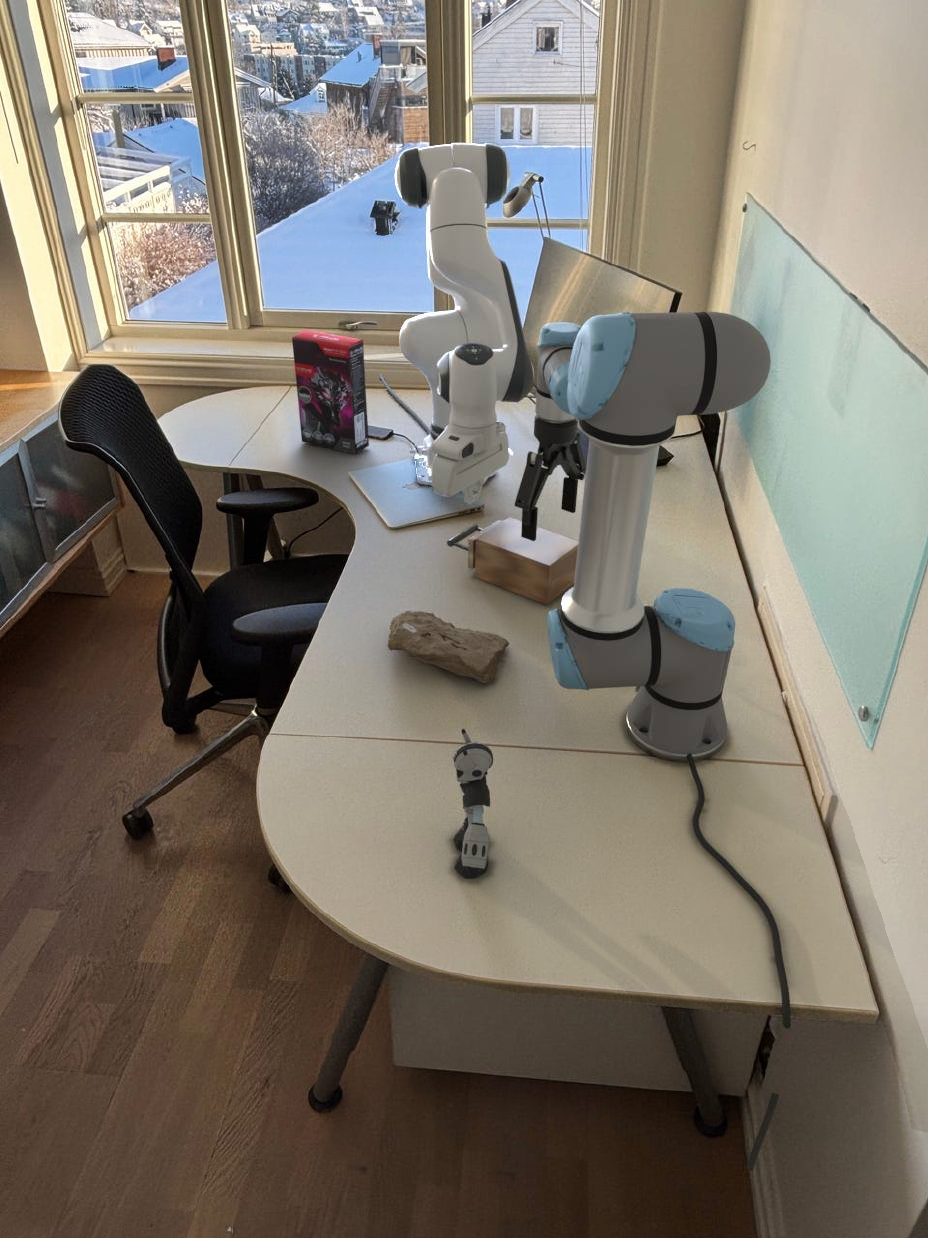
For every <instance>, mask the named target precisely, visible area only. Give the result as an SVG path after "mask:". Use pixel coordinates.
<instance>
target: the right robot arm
mask: <svg viewBox="0 0 928 1238" xmlns="http://www.w3.org/2000/svg"><path fill="white" fill-rule="evenodd" d="M537 348H538V349H537V369H536V370H537V371H536V372H537V374H536V392H535V408H534V412H535V415H534V422H533V436H534V438H535V439H536V440H537V442H538V448H537V451H535V452H534V451H530V450H529V451H528V452H527V454H526V455H527V456H526V462H525V463H526V464H525V467H524V470H523V474H522V477H521V482H520V485H519V488H518V491H517V494H516V497H515V501H514V507H516V508H518V509H521V521H522V532H521V537H523V538H526V539H529V540H531V541H535V540H536V531H537V527H538V515H539V514H538V511H539V507H538V506H537V503H538V501H539V499H540V497H541V494H542V492H543V490H544V488H545V485H546V483H547V480H548V478H549V476H551V475H553V473H554V470H555V469H556V468H557V467H558V466H560V467H561V468H562V470H563V472H564V473H565V475H566V476H565V477H563V482H562V492H561V493H562V495H561V508H560V510H562V511H565V512H568V513H572V514H575V513H576V509H577V500H578V499H577V498H578V487H579V481H583V480H584V486H583V496H582V504H581V513H580V514H581V515H580V524H579V533H578V541H579V542H578V551H577V561H576V570H575V580H574V584H573V586H571V587H569V588H568V589H567V590H566V591H565V592H564V593H563V595H562V598H561V602H560V609H559V608H554V609H551V610H549V611H548V612H547V614H546V627H547V638H548V645H549V651H550V656H551V664H552V668H553V672H554V676H555V678H556V682H557V683H558V684H559V686H561V687H562V688H564V689H567V690H584V691H590V690H594V689H595V690H597V689H612V688H613V689H614V688H615V689H616V688H630V687H631V688H633V687H635V691H634V692H635V693H636V694H635V695H634V697H633V699H632V701H631V702H630V704H629V706H628V708H627V711H626V719H625V728H626V732H627V734H628V736H629V738H630V739H631V741H632V742H634V744H636V745H637V746H638V747H639V748H640V749H641V750H643V751H645V752H646V753H648V754H650V755H651V756H654V757H656V758H659V759H662V760H666V761H670V762H675V763H688V766H689V769H690V772H691V775H692V778H693V781H694V783H695V785H696V789H697V795H698V797H697V802H696V806H695V810H694V812H693V816H692V829H693V833H694V835H695V837H696V838H697V841H698V842H699V844H700V845H701V846H702V848H704V849H705V850H706V852H707V853H708V854H709V855H711V856H712V858H714V859H715V860H716V861H717V862H718V863H719V864H720V865H721V867H723V868H724V869H725V870H726V872H728V874H729V875H730V876H731V877H732V878H733V879H734V880H735V881H736V882H737V883H738V885H740V886H741V887H742V888H743V890H745V892H747V894H749V896H750V897H752V899H753V900H754V902H756V903H757V905H758V907H759V908H760V909H761V911H762V913H763V914H764V916H765V918H766V921H767V923H768V925H769V928H770V932H771V938H772V944H773V952H774V959H775V964H776V969H777V975H778V981H779V986H780V994H781V1009H782V1010H781V1011H782V1012H781V1013H782V1016H781V1017H782V1026H783V1027H784V1029H786V1030H787V1029H788V1030H790V1029H791V1025H792V1024H791V1021H792V1018H791V1014H792V1013H791V999H790V990H789V989H790V988H789V983H788V978H787V977H788V976H787V973H786V968H785V963H784V957H783V950H782V943H781V937H780V932H779V927H778V925H777V922H776V919H775V917H774V914H773V913H772V911H771V909H770V907H769V906H768V904H767V902H765V900H764V899H763V897H762V896H761V894H759V893H758V892H757V890H756V889H755V888H754V887H752V885H751V884H750V883H749V882H748V881H747V880H746V879H745V878H743V876H742V875H741V874H740V873H739V872H738V871H737V870H736V869H735V867H734V866H733V865H732V864H730V862H729V861H728V860H727V859H726V858H724V857H723V855H722V854H720V853H719V852H718V851H717V850H716V849H715V848H714V847H713V846H712V845H711V844H710V843H709V842H708V840H707V839H706V838H705V836H704V835H703V833H702V831H701V828H700V817H701V814H702V811H703V809H704V805H705V801H706V800H705V799H706V797H705V789H704V785H703V782H702V780H701V778H700V775H699V772H698V769H697V766H696V763H695V762H700V761H703V760H706V759H709V758H711V757H714V755H716V754H718V752H720V751H721V750H722V748H723V747H724V744H725V743H726V740H727V739H726V738H727V733H728V721H727V716H726V712H725V708H724V707H725V706H724V701H723V692H724V686H725V682H726V678H727V674H728V669H729V664H730V659H731V654H732V651H733V649H734V646H735V640H734V639H735V632H736V620H735V619H736V618H735V617H734V614H733V612H732V611H731V609H730V608H729V607H728V606H727V605H726V604H725V603H723V602H722V601H721V600H719V599H718V598H716V597H715V596H712V595H711V594H709V593H706V592H704V591H701V590H696V589H692V588H686V587H673V588H668V589H665V590H663V591H662V592H660V593H658V595H657V596H656V597H655V599H654V601H653V605H645V604H644V602H643V601H642V598H640V597H639V595H637V591H638V584H639V579H640V572H641V565H642V559H643V552H644V546H645V540H646V533H647V528H648V521H649V514H650V513H649V512H650V508H651V502H652V496H653V490H654V484H655V476H656V469H657V464H658V458H659V450H660V446H662V445H663V444H665V443H666V442H668V441H670V440H671V439H672V438H673V437H674V435H675V431H676V425H677V420H678V417H683V416H699V415H712V414H713V415H714V414H719V413H724V412H727V411H730V410H734V409H736V408H738V407H740V406H742V405H745V404H746V403H748V402H749V401H751V400H752V399H753V398H755V396H757V394H758V393H759V392H760V391H761V390H762V389H763V387H764V386H765V384H766V382H767V380H768V377H769V374H770V370H771V364H772V363H771V362H772V361H771V359H772V358H771V352H770V348H769V346H768V343H767V341H766V339H765V337H764V336H763V334H762V333H761V332H760V330H758V329H757V328H756V327H755V326H754V325H752V324H751V323H750V322H748V321H747V320H745V319H743V318H741V317H739V316H737V315H733V314H729V313H726V312H719V311H700V312H692V311H690V312H689V311H686V312H685V311H684V312H683V311H682V312H678V311H677V312H630V311H621V312H617V313H609V314H608V313H607V314H597V315H594V316H592V317H590V318H588V319H587V320H586V321H585V322H584V323H583V325H580V324H578V323H574V322H569V321H554V322H548V323H547V324H544V325H543V326H542V327H541V328H540V331H539V338H538V344H537ZM578 428H579V429H580V431H581V432H582V433H583V435H585V436H586V438H588V447H587V458H586V461H585V456H584V452H583V448H582V443H581V432H580V431H578ZM584 473H585V474H584ZM779 1098H780V1094H778V1093H775V1092H771V1094H770V1097H769V1101H768V1104H767V1107H766V1110H765V1113H764V1116H763V1119H762V1121H761V1124H760V1127H759V1129H758V1131H757V1134H756V1137H755V1140H754V1143H753V1146H752V1148H751V1150H750V1153H749V1157H748V1160H747V1163H746V1170H747V1171H748V1172H753V1171H754V1168H755V1165H756V1162H757V1160H758V1156H759V1154H760V1150H761V1149H762V1145H763V1143H764V1140H765V1138H766V1136H767V1133H768V1130H769V1127H770V1125H771V1122H772V1119H773V1117H774V1114H775V1112H776V1108H777V1106H778V1105H777V1104H778V1101H779Z"/></svg>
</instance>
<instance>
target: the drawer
mask: <svg viewBox="0 0 928 1238" xmlns="http://www.w3.org/2000/svg"><path fill="white" fill-rule="evenodd" d="M502 521H503V520H501V519H497V520H496V521H493V522H492V523H491V524H489V525H488V526H486V527H485V528H482V527H480V526H479V524H477V523H473V524H472V525H470V526H469V527H467V528H465V529H464V530H463V531H461V532H459V533H457V534H456V535H454V536H453V537H451V538H450V539H447V541H446V545H447V546H448V547H449V548H453V547H456V548H459V549H461V550H463V551H466V552H467V568H468V569H471V570H475V556H476V538H478V537H479V536H481V535H482V534H484V533H485V532H487V531H488V530H490V529H492V528H493V527H495V526H496V525H498V524H499V523H501V522H502ZM474 533H475V534H474ZM469 536H470V537H469ZM468 537H469V538H468ZM467 538H468V540H467V541H468V543H467V545H464V544H462V543H460V542H462V541H463V540H465V539H467Z"/></svg>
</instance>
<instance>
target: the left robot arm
mask: <svg viewBox="0 0 928 1238" xmlns="http://www.w3.org/2000/svg"><path fill="white" fill-rule="evenodd" d="M510 180H511V167H510V162H509V158H508V157H507V153H506V151H505V149H503V147H502V146H501V145H499V144H495V143H489V142H485V143H484V144H480V143H479V144H478V143H467V142H451V144H440V145H439V144H438V145H432V146H426V147H425V146H424V147H422V148H419V147H418V146H417V147H412V148H408V149H406V150H403V151H402V152H401V154H399V156H398V161H397V163H396V167H395V172H394V181H395V187H396V189H397V192H398V194H399V196H400V198H401V201H402V202H403V203H404V204H405V205H406V206H408V207H412V208H414V209H415V208H416V209H420V210H422V209H423V208H425V207H426V208H427V210H426V226H425V227H426V231H425V233H426V234H425V235H426V253H427V273H428V278H429V281H430V283H431V285H432V286H433V287H435V288H436V289H437V290H440V291H441V292H443V293H445V294H447V295H450V296H451V297H452V299H453V302H454V309H451V310H444V311H443V310H442V311H434V312H425V313H423V314H419V315H416V316H414V317H411V318H408V319H406V320H405V321H404V322H403V325H402V326H401V329H400V331H399V338H398V343H399V349H400V351H401V353H402V355H403V357H404V358H405V360H406V361H407V362H408V363H410V364H411V365H412V366H414V367H415V368H416V369H418V370H419V371H420V372H421V373H422V374H423V376H424V377H425V379H426V381H427V383H428V386H429V389H430V395H431V406H432V418H431V421H430V425H429V427H428V425H426V423H425V422H424V421H423V420H422V419H421V418H420V417H419V416H418V414H416V412H415V411H413V409H411V407H409V406H408V405H407V403H405V402H404V401H403V400H402V399H401V397H399V396H398V395H397V394H396V393H395V392H394V391H393V389H391V387H390V386H389V384H388V383H387V381H386V380H385V378H384V375H383V374H381V373H380V374H379V375H378V377H379V379H380V380H381V382H382V384H383V386H384V388H385V389H386V390H387V392H389V394H390V395H391V396H392V397H393V398H394V399H395V400H396V401H397V402H398V403H399V404H400V405H401V406H402V407H403V408H404V409H405V410H406V411H407V412H408V413H409V414H410V415H411V416H412V417H413V418H414V419H415V420H416V422H417V423H419V424H420V426H421V427H422V428H423V429H424V430H425V432H426V433H427V436H425V437H424V438H423V445H419V446H417V453H416V454H415V455H414V465H415V466H414V467H415V472H416V480H417V483H418V484H420V485H426V486H430V487H431V486H432V490H433V492H434V493H435V494H436V495H439V496H441V497H444V498H447V499H450V498H452V497H453V496H455V495H457V494H459V493H460V492H462V494H463V502H464V503H465V504H468V505H471V504H473V503H475V502H477V500H479V499H480V498H481V491H482V488H483V486H484V484H485V483H486V482H487V481H488V479H489V478H491V477H493V476H494V475H496V472H497V471H499V470H500V469H502V468H504V467H505V466H506V465H507V464H508V462H509V460H510V455H511V456H513V455H514V452H513V451H512V450H511V449H510V447H509V445H510V444H509V437H508V434H507V432H506V431H507V430H506V429H507V428H506V427H507V426H506V424H505V423H504V422H503V421H502V420H498V417H497V413H496V404H497V402H501V403H519V402H521V401H522V400H523V399H525V398H526V397H527V396H528V395H529V394H530V392H532V390H533V389H534V385H535V371H534V365H533V362H532V360H531V356H530V355H531V354H530V353H529V349H528V346H527V341H526V338H525V333H524V328H523V322H522V320H521V315H520V310H519V304H518V300H517V295H516V292H515V287H514V282H513V280H512V275H511V272H510V270H509V267H508V265H507V263H506V262H505V261H504V260H502V259H501V258H499V257H498V255H496V253H495V251H494V250H493V247H492V245H491V242H490V238H489V229H488V227H489V226H488V216H487V210H488V209H489V208H490V206H491V205H494V204H495V203H497V202H500V201H501V199H503V197H505V196H506V194H507V190H508V187H509V184H510ZM419 458H424V461H423V462H422V466H423V467H426V469H427V473H428V480H429V481H430V480H431V481H432V482H426V481H420V480H419V479H418V475H417V468H416V461H415V459H419ZM419 463H421V462H419ZM419 477H426V476H425V475H420V476H419Z"/></svg>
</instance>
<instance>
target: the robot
mask: <svg viewBox="0 0 928 1238" xmlns="http://www.w3.org/2000/svg"><path fill="white" fill-rule="evenodd" d="M461 734H462V737H463V739H464V742H465V744H463V745H461V746H460V747H459V748H458V749H457V750H456V751H455V753H454V756H453V757H452V760H453V768H455V772H456V774H455V775H456V781H457V782H458V783H459V786H460V789H461V791H462V793H463V794H462V809H464V812H465V814H466V817H465V818H464V821H463V823H462V826H461V827H460V829H459V830H458V831H457V833H456V834H455V835H454V837H453V838H452V841H453V843H454V846H455V847H456V849H457V850H459V851H460V853H459V855H458V858H457V859H456V863H455V865H454V870H455V871H456V872H457V873H458V874H459V875H460V876H461V877H464V878H468V879H472V878H477V877H479V876H481V875H483V874H486V873H487V872H488V867H489V863H490V862H489V848H490V834H489V831H488V826H486V824H485V823H484V818H483V817H484V816H483V815H484V813H485V812H484V810H485V809H484V806H485V807H487V808H491V792H490V788H489V785H488V784H487V775H488V771H489V769H491V768H492V766H493V764H494V755H493V751H492V750H491V749H490V747H488V746H487V745H486V744H484V743H482V742H479V741H476V740H475V741H472V740H471V738H470V736H469V735H468V733H467V730H466V729H465V728H462V729H461Z"/></svg>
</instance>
